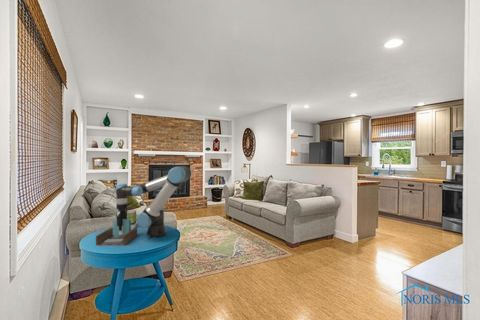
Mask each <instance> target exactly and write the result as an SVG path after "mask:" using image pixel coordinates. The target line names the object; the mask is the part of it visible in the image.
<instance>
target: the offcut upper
mask: <svg viewBox="0 0 480 320" xmlns="http://www.w3.org/2000/svg"><path fill="white" fill-rule="evenodd" d="M103 243H104V244H122V243H123V239H107V240H106V241H104V242H103Z"/></svg>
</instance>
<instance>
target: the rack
mask: <svg viewBox="0 0 480 320" xmlns="http://www.w3.org/2000/svg"><path fill="white" fill-rule="evenodd" d="M137 237H138V227H137V226H135V228H134V229H131V231H130V232H128V233H127V234H125V235H124V236H123V237H113V227H110V228H108V229H105V230H104V231H102V232H100V233H99V234H97V235H95V246H97V247H98V246H99V247H100V246H126V245H128V243H130V242H131V241H133V240H134V239H135V238H137ZM107 239H123V244H103V243H104V241H106V240H107Z"/></svg>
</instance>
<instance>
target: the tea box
mask: <svg viewBox="0 0 480 320" xmlns="http://www.w3.org/2000/svg"><path fill="white" fill-rule="evenodd" d="M116 214H118V211H117V212H116V213H115V219H117V216H116ZM127 219H131V230H132V229H134V228H135V227H137V221H136V219H137V210H136V209H132V210H131V209H129V210H128V209H127Z"/></svg>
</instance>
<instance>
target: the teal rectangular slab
mask: <svg viewBox="0 0 480 320" xmlns="http://www.w3.org/2000/svg"><path fill="white" fill-rule="evenodd" d="M112 221H113V225H112V226H113V237H123V236H124V235H125V234H127V233H128V232H130V231H131V230H132V229H131V219H123V222H122V226H123V235H119V226H117V219H116V218H115V219H113V220H112Z"/></svg>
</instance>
